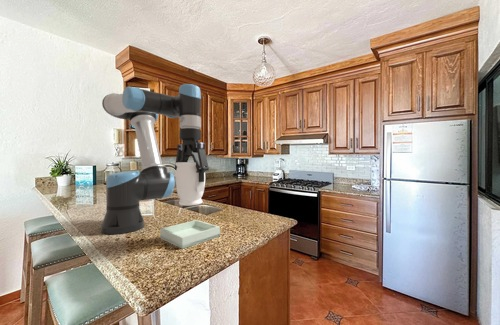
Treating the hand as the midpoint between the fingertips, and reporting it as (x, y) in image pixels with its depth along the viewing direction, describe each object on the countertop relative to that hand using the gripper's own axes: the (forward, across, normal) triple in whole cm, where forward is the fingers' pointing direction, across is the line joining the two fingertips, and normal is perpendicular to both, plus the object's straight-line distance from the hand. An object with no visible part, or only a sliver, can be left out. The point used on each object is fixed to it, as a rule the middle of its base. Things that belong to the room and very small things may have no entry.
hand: (190, 190), depth 78 cm
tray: (+17, 0, 0) cm, 17 cm away
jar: (+5, 0, 0) cm, 5 cm away
